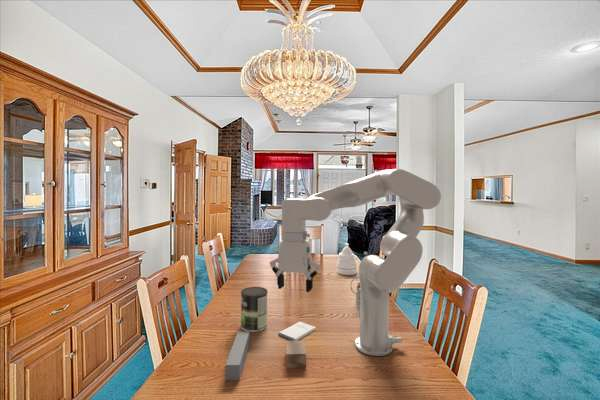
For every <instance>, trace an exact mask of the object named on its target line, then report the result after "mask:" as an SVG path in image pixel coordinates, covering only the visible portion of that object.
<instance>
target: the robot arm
mask: <svg viewBox="0 0 600 400" xmlns="http://www.w3.org/2000/svg"><path fill="white" fill-rule="evenodd" d="M390 195H391V196H397V197H398V201H399V205H400V212H399V215H398V216H397V219H396V220H395V222H394V223H393V225H392V226H391V227H390V228H389V230H388V231H386V233H385V235H384V236H383V237H382V239H381V240H380V243H379V248H380V249H379V250H380V251H381V252H382V254H383V255H384V256H386V258H383V256H379V255H376V254H368V255H366V257H365V256H363V258H362V259H361V260H360V263H359V265H358V274H359V279H358V280H359V282H360V288H359V289H360V292H361V293H360V294H361V295H360V308H359V336H358V337H356V338H355V340H354V346H355V348H356V349H357V350H358V351H359V352H360V353H363V354H365V355H368V356H374V357H383V356H388V355H390V354H391V353H392V352H393V345H394V344H402V343H403V338H402V337H400V336H397V335H396V334H390V333H389V315H390V314H389V312H390V311H389V310H390V309H389V307H390V295H389V293H390V294H391V293H394V292H396V291H397V290H398V289H400V288H401V286H402V285H403V284H404V283H405V281H406V280H407V279H408V278H409V276H410V275H411V274H412V272H413V271H414V270H415V268H416V267H417V266H418V264H419V263H420V261H421V259H422V256H423V250H424V249H423V245H422V243H421V241H420V239H418V238H417V237H418V235H419V234H420V232H421V231H422V229H423V227H424V222H425V216H424V210H432V209H435V208H436V207H437V206H438V205H439V204H440V202H441V198H442V195H441V191H440V189H439V187H437V186H436V184H434V183H432V182H430V181H429V180H426V179H425V178H422V177H420V176H419V175H416V174H413V173H412V172H409V171H407V170H404V169H403V168H392V169H390V168H389V169H383V170H380V171H377V172H375V173H372V174H370V175H369V174H368V175H367V176H364V177H361V178H358V179H356V180H352V181H350V182H347V183H344V184H342V185H338V186H335V187H332V188H330V189H326V190H323V191H320V192H318V193H315V194H311V195H310V196H308V197H306V198H300V197H290V198H284V199H283V200H282V201H281V222H282V223H281V235H282V236H281V237H282V238H281V240H280V243H279V249H278V257H277V258H274V260H271V261H269V266H270V267H271V269H272V272H273V273H274V274H275V276H276V279H277V281H276V283H277V289H279V290H281V289H282V288H283V287H285V274H284V272H286V273H291V274H292V273H295V274H304V276H305V277H306V280H305V291H306V293H310V292H311V291H312V289H313V287H314V285H313V284H314V281H313V280H314V277H316V275H317V274H319V271H320V269H321V268H322V267H321V265H320V264H319V263H317V262H316V261H314V260H313V259H312V254H311V247H310V243H309V240H307V239H309V238H310V237H311V234H310V233H308V232H307V231H306V230H307V229H306V228H307V227H306V226H307V225H306V224H307V222H306V221H313V222H314V221H316V222H321V221H325V220H327V219H328V218H329V217H330V215H331V214H332V211H335V210H338V209H343V208H355V207H361V206H363V205H366V204H369V203H371V202H373V201H376V200H379V199H381V198H384V197H387V196H390ZM277 263H278V266H277ZM312 268H314V270H313V271H312Z"/></svg>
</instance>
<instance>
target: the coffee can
mask: <svg viewBox="0 0 600 400" xmlns="http://www.w3.org/2000/svg"><path fill="white" fill-rule="evenodd" d="M240 293H241V295H240V296H241V299H240V303H241V305H240V306H241V307H240V308H241V309H240V310H241V311H240V312H241V313H240V314H241V315H240V317H241V320H240V328H241V330H242V331H243V332H249V333H258V332H261V331H264V330H265V329H266V328H267V327H268V288H265V287H262V286H249V287H245V288H243V289H241V290H240Z"/></svg>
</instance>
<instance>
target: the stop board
mask: <svg viewBox="0 0 600 400" xmlns="http://www.w3.org/2000/svg"><path fill="white" fill-rule="evenodd" d="M249 347H250V332H247V331H237V333H236V336H235V339H234V340H233V343H232V347H231V348H230V352H229V354H228V358H227V359H226V362H225V367H224V368H225V375H224V376H225V381H241V376H242V373H243V369H244V365H245V363H246V358H247V355H248V351H249Z"/></svg>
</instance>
